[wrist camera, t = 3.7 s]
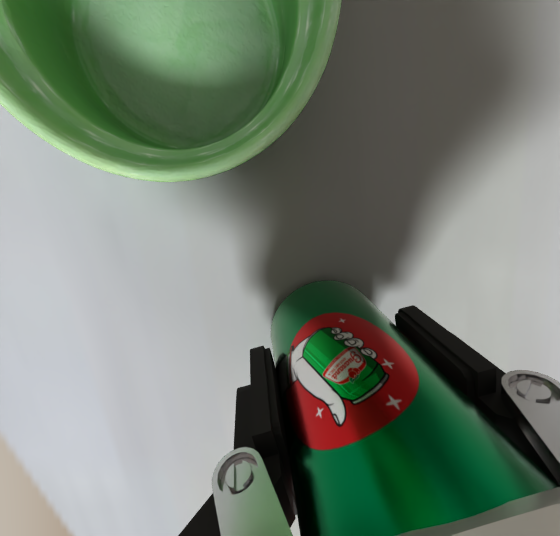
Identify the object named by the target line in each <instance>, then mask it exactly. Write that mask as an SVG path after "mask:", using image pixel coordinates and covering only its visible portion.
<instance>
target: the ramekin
mask: <svg viewBox="0 0 560 536" xmlns="http://www.w3.org/2000/svg"><path fill="white" fill-rule="evenodd" d="M341 1H342V0H0V104H1V105H2V106H3V107H4V108H5V109H6V110H7V111H8V112H9V113H10V114H11V115H12V116H14V117H15V118H16V119H17V120H18V121H20V122H21V123H22V124H23V125H24V126H25V127H27V128H28V129H29V130H31V131H32V132H33V133H35V134H36V135H38V136H39V137H40V138H42V139H43V140H45V141H46V142H48V143H49V144H51V145H52V146H54V147H56V148H57V149H59V150H61V151H62V152H64V153H66V154H68V155H70V156H72V157H74V158H76V159H78V160H80V161H81V162H84V163H86V164H88V165H91V166H93V167H95V168H98V169H101V170H104V171H107V172H110V173H113V174H117V175H121V176H124V177H129V178H134V179H140V180H147V181H157V182H178V181H189V180H195V179H201V178H205V177H209V176H213V175H216V174H219V173H222V172H225V171H227V170H230V169H232V168H234V167H236V166H239V165H240V164H242V163H244V162H246V161H248V160H249V159H251V158H253V157H254V156H256V155H257V154H259V153H260V152H262V151H263V150H264V149H266V148H267V147H268V146H270V145H271V144H272V143H273V142H274V141H276V140H277V139H278V138H279V137H280V136H281V135H282V134H283V133H284V132H285V131H286V130H287V129H288V128H289V127H290V125H291V124H292V123H293V122H294V121H295V120H296V118H297V117H298V116H299V114H300V113H301V112H302V110H303V109H304V107H305V106H306V104H307V103H308V101H309V99H310V98H311V96H312V94H313V93H314V91H315V89H316V87H317V85H318V83H319V81H320V79H321V76H322V74H323V72H324V70H325V67H326V65H327V62H328V59H329V57H330V54H331V50H332V46H333V42H334V39H335V35H336V31H337V26H338V20H339V15H340V9H341Z"/></svg>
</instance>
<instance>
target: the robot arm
mask: <svg viewBox="0 0 560 536" xmlns="http://www.w3.org/2000/svg"><path fill="white" fill-rule="evenodd" d="M395 321H396V327H397V328H398V329H399V330H400V331H401V332H402V333H403V334H404V335H405V336H406V337H407V338H408V339H409V340H410V341H411V342H412V343H413V344H414V345H415V346H416V347H417V348H418V349H419V350H421V351H422V352H423V353H424V354H425V355H426V356H427V357H428V358H429V359H430V360H431V361H432V362H433V363H434V364H435V365H436V366H437V367H438V368H439V369H440V370H441V371H442V372H443V373H444V374H445V375H446V376H447V377H448V378H449V379H450V380H451V381H452V382H453V383H454V384H455V385H456V386H457V387H458V388H459V389H460V390H461V391H462V392H463V393H464V394H465V395H466V396H467V397H468V398H469V399H470V400H471V401H472V402H473V403H474V404H475V405H476V406H477V407H478V408H479V409H480V410H481V411H483V412H484V413H485V414H486V415H487V416H488V417H489V418H490V419H491V420H492V421H493V422H494V423H495V424H496V425H497V426H498V427H499V428H500V429H501V430H502V431H503V432H504V433H505V434H506V435H507V436H508V437H509V438H510V439H511V440H512V441H513V442H514V443H515V444H516V445H517V446H518V447H519V448H520V449H521V450H522V451H523V452H524V453H525V454H526V455H527V456H528V457H529V458H530V459H531V460H532V461H533V462H534V463H535V464H536V465H537V466H538V467H539V468H540V469H541V470H542V471H543V472H544V473H546V474H547V475H548V476H549V477H550V478H551V479H552V480H553V481H554V482H555V483H556V484H557V485H558V486H559V487H557V488H554V489H550V490H547V491H543V492H540V493H536V494H533V495H530V496H526V497H523V498H519V499H516V500H513V501H509V502H507V503H505V504H503V505H501V506H499V507H496V508H494V509H491V510H488V511H485V512H483V513H480V514H477V515H475V516H472V517H468V518H465V519H461V520H457V521H454V522H450V523H447V524H442V525H437V526H432V527H428V528H423V529H418V530H412V531H409V532H406V533H402V534H399V535H396V536H560V383H559V382H558V381H557V380H555V379H553V378H551V377H549V376H547V375H544V374H541V373H538V372H533V371H528V370H515V371H510V372H508V373H504V372H503V371H502V370H500V369H499V368H498V367H496V366H495V365H494V364H492V363H491V362H490V361H488V360H487V359H486V358H484V357H483V356H482V355H480V354H479V353H478V352H476V351H475V350H474V349H472V348H471V347H470V346H468V345H467V344H466V343H464V342H463V341H462V340H460V339H459V338H458V337H456V336H455V335H454V334H452V333H451V332H449V331H447V330H446V329H445V328H443V327H442V326H441V325H439V324H438V323H437V322H435V321H434V320H433V319H431V318H430V317H429V316H427V315H426V314H425V313H423V312H422V311H421V310H419V309H418V308H417V307H415V306H409V307H405V308H401V309H399V311H398V313H397V314H395ZM250 377H251V385H247V386H244V387H240V388H238V389H237V396H236V415H235V435H234V450H233V451H231V452H229V453H228V454H227V455H225V456H224V457H223V458H222V459H221V460H220V462H219V463H218V465H217V466H216V468H215V470H214V473H213V477H212V490H213V494H212V495H211V496H210V497H209V499H208V500H207V501H206V502H205V504H204V505H203V506H202V507H201V509H200V510H199V511H198V512H197V513H196V515H195V516H194V517H193V518H192V520H191V521H190V522H189V523H188V525H187V526H186V527H185V528H184V529H183V531H182V532H181V533H180V534H179V536H293V535H292V533H291V530H290V527H291V525H292V524H293V522H294V520H295V515H297V508H296V502H295V495H294V488H293V481H292V475H291V468H290V461H289V454H288V447H287V441H286V434H285V427H284V421H283V414H282V407H281V401H280V394H279V387H278V380H277V374H276V368H275V365H274V361H273V358H272V354H271V351H270V348H267V349H265V348H264V346H260V347H257V348H253V349H250Z"/></svg>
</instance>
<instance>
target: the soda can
mask: <svg viewBox="0 0 560 536" xmlns="http://www.w3.org/2000/svg"><path fill="white" fill-rule="evenodd" d="M271 340H272V347H273V354H274V361H275V367H276V374H277V380H278V387H279V394H280V401H281V407H282V414H283V421H284V427H285V434H286V441H287V447H288V454H289V461H290V468H291V475H292V481H293V488H294V495H295V502H296V508H297V515H298V522H299V528H300V535H301V536H396V535H399V534H402V533H406V532H409V531H412V530H418V529H423V528H428V527H432V526H437V525H442V524H447V523H450V522H454V521H457V520H461V519H465V518H468V517H472V516H475V515H477V514H480V513H483V512H485V511H488V510H491V509H494V508H496V507H499V506H501V505H503V504H505V503H507V502H509V501H513V500H516V499H519V498H523V497H526V496H530V495H533V494H536V493H540V492H543V491H547V490H550V489H554V488H557V487H559V486H558V485H557V484H556V483H555V482H554V481H553V480H552V479H551V478H550V477H549V476H548V475H547V474H546V473H544V472H543V471H542V470H541V469H540V468H539V467H538V466H537V465H536V464H535V463H534V462H533V461H532V460H531V459H530V458H529V457H528V456H527V455H526V454H525V453H524V452H523V451H522V450H521V449H520V448H519V447H518V446H517V445H516V444H515V443H514V442H513V441H512V440H511V439H510V438H509V437H508V436H507V435H506V434H505V433H504V432H503V431H502V430H501V429H500V428H499V427H498V426H497V425H496V424H495V423H494V422H493V421H492V420H491V419H490V418H489V417H488V416H487V415H486V414H485V413H484V412H483V411H481V410H480V409H479V408H478V407H477V406H476V405H475V404H474V403H473V402H472V401H471V400H470V399H469V398H468V397H467V396H466V395H465V394H464V393H463V392H462V391H461V390H460V389H459V388H458V387H457V386H456V385H455V384H454V383H453V382H452V381H451V380H450V379H449V378H448V377H447V376H446V375H445V374H444V373H443V372H442V371H441V370H440V369H439V368H438V367H437V366H436V365H435V364H434V363H433V362H432V361H431V360H430V359H429V358H428V357H427V356H426V355H425V354H424V353H423V352H422V351H421V350H419V349H418V348H417V347H416V346H415V345H414V344H413V343H412V342H411V341H410V340H409V339H408V338H407V337H406V336H405V335H404V334H403V333H402V332H401V331H400V330H399V329H398V328H397V327H396V326H395V325H394V324H393V323H392V322H391V321H390V320H389V319H388V318H387V317H386V316H385V315H384V314H383V313H382V312H381V311H380V310H379V309H378V308H377V307H376V306H375V305H374V304H373V303H372V302H371V301H370V300H369V299H368V298H367V297H366V296H365V295H364V294H363V293H361V292H360V291H359V290H358V289H356V288H355V287H353V286H351V285H349V284H346V283H343V282H339V281H318V282H313V283H310V284H307V285H305V286H303V287H300V288H299V289H297V290H296V291H294V292H293V293H291V294H290V295H289V296H288V297H287V298H286V299H285V300H284V301H283V302H282V303H281V305H280V306H279V308H278V309H277V311H276V313H275V315H274V318H273V321H272V325H271Z"/></svg>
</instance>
